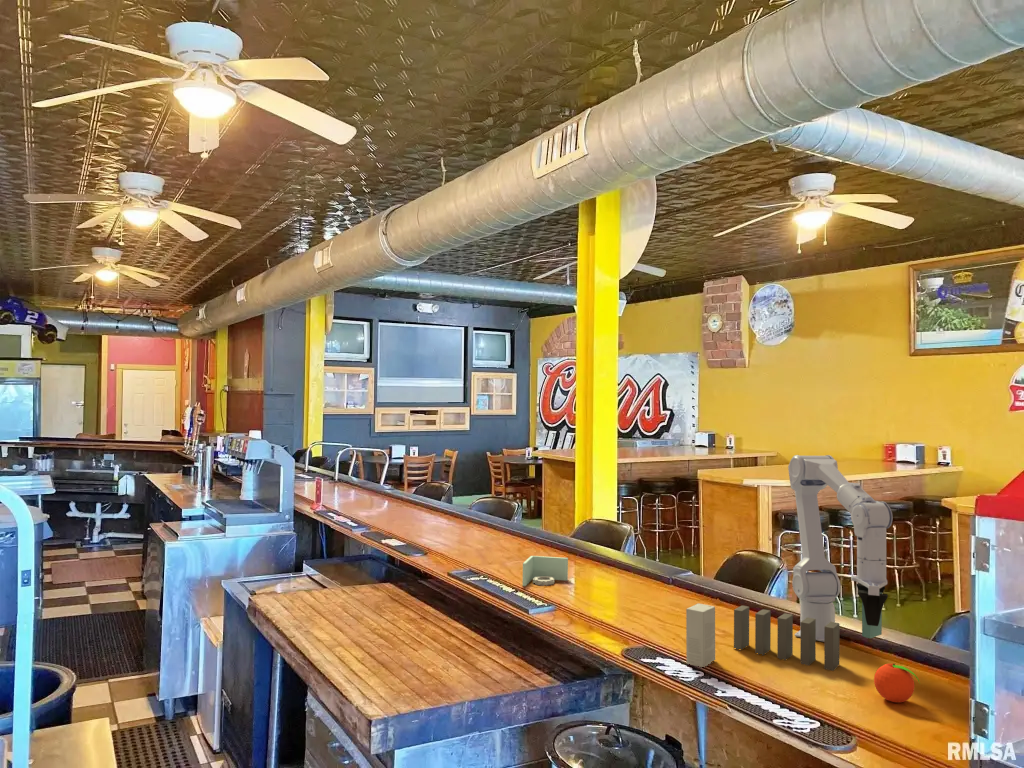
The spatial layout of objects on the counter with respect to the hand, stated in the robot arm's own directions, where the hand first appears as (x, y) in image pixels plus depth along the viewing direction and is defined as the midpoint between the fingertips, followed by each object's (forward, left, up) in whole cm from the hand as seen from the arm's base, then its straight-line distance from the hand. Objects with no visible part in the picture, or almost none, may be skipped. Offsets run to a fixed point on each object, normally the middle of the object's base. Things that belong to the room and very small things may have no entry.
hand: (871, 621), depth 160 cm
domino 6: (0, 0, -3) cm, 3 cm away
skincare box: (+20, -30, -10) cm, 38 cm away
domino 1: (+4, -27, -10) cm, 29 cm away
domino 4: (+4, -12, -10) cm, 16 cm away
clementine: (+16, +8, -10) cm, 21 cm away
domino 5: (+4, -7, -10) cm, 13 cm away
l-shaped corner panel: (-16, -98, -11) cm, 99 cm away
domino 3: (+4, -17, -10) cm, 20 cm away
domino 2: (+4, -22, -10) cm, 24 cm away
